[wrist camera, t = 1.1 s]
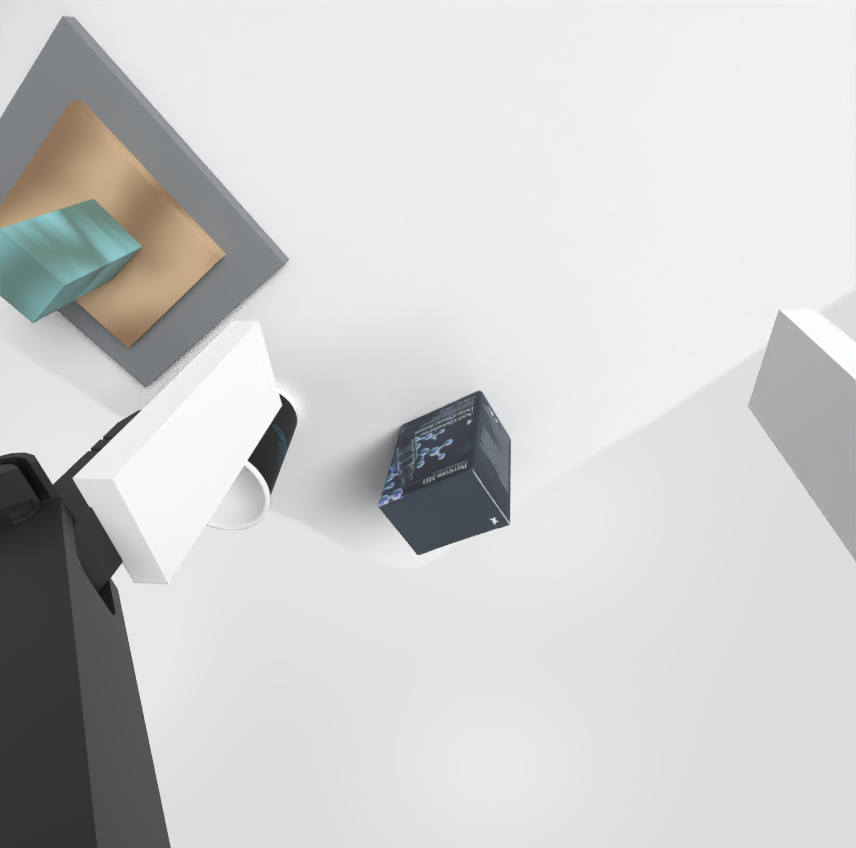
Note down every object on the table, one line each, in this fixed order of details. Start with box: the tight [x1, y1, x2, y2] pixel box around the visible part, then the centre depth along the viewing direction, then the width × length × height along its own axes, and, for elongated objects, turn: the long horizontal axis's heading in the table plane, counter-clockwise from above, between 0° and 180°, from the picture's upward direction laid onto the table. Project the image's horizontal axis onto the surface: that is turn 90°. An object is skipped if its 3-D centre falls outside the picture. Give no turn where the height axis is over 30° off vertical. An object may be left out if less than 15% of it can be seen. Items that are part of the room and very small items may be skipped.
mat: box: [0, 16, 289, 387], centre depth 39 cm, size 18×18×1 cm
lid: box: [0, 100, 226, 348], centre depth 34 cm, size 12×12×9 cm
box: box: [378, 391, 511, 555], centre depth 41 cm, size 8×6×11 cm
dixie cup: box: [207, 387, 298, 530], centre depth 42 cm, size 8×8×11 cm
